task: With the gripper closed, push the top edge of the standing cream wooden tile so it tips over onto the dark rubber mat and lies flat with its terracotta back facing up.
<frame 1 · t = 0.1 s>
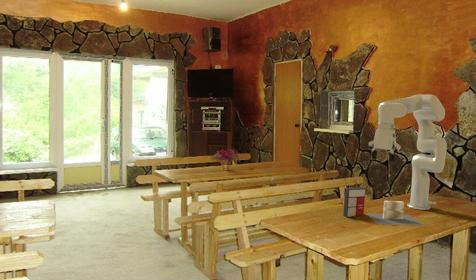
hand: (382, 160, 214), 31 cm above the table, tool pointing down, fingers open, 9 cm apart
mat: (393, 220, 216), on the table
tile: (392, 218, 217), point 1 cm above the table, touching mat
grey and red box: (353, 216, 222), on the table
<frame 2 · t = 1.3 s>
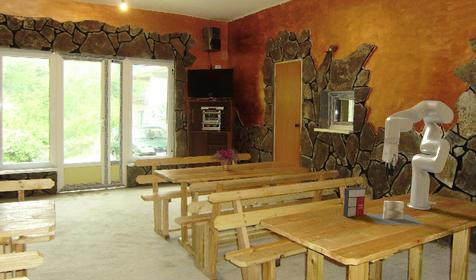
hand: (389, 174, 224), 22 cm above the table, tool pointing down, fingers closed
nothing on the table moved.
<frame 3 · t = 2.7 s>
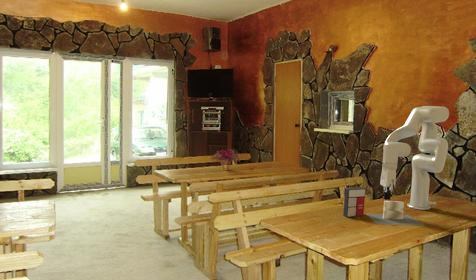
hand: (386, 199, 225), 9 cm above the table, tool pointing down, fingers closed
nothing on the table moved.
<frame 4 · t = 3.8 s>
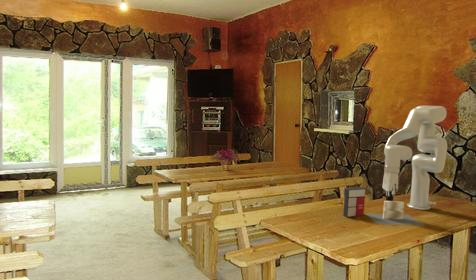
hand: (389, 203, 222), 7 cm above the table, tool pointing down, fingers closed
nothing on the table moved.
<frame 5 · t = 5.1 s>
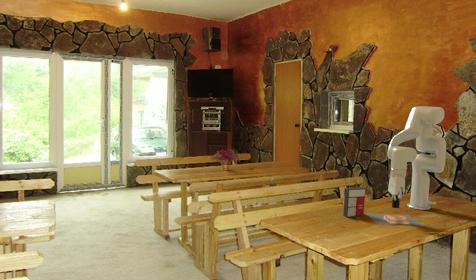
hand: (395, 207, 214), 7 cm above the table, tool pointing down, fingers closed
tile: (393, 217, 216), point 2 cm above the table, tilted 90°, touching mat
everything else where it was.
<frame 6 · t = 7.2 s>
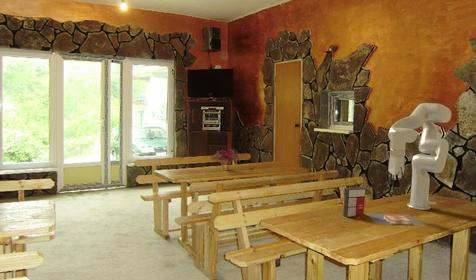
hand: (395, 186, 223), 16 cm above the table, tool pointing down, fingers closed
nothing on the table moved.
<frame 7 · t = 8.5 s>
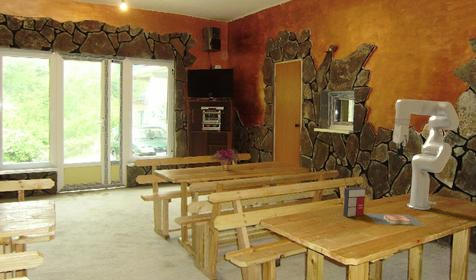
hand: (399, 155, 228), 32 cm above the table, tool pointing down, fingers closed
nothing on the table moved.
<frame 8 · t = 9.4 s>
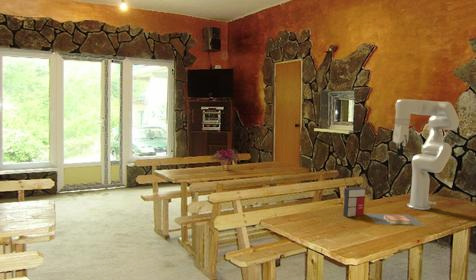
hand: (399, 155, 228), 32 cm above the table, tool pointing down, fingers closed
nothing on the table moved.
at the end: tile tilted 90°; tile inside the target area on the mat (2.5 cm from its centre), point 1.7 cm above the mat's base; the gripper is holding nothing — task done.
